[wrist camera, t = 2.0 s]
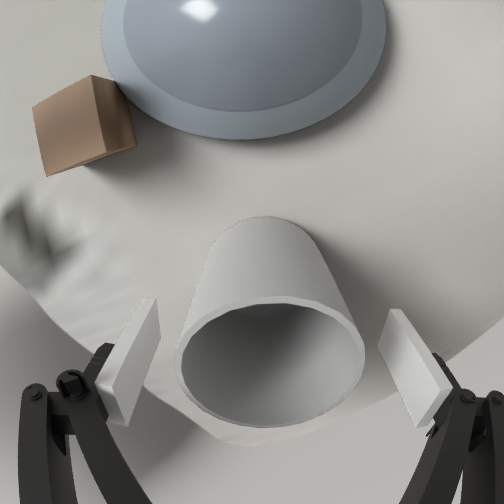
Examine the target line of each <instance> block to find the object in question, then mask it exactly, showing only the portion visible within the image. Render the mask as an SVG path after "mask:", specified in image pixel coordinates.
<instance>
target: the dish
mask: <svg viewBox="0 0 504 504" xmlns="http://www.w3.org/2000/svg"><path fill="white" fill-rule="evenodd" d="M385 40H386V16H385V9H384V5H383V1H382V0H106V3H105V7H104V11H103V15H102V22H101V46H102V50H103V55H104V59H105V62H106V64H107V67H108V69H109V72H110V74H111V76H112V77H113V79H114V81H115V82H116V84H117V86H118V87H119V88H120V89H121V91H122V92H123V93H124V94H125V95H126V97H127V98H128V99H129V100H130V101H132V102H133V103H134V104H135V105H136V106H137V107H138V108H140V109H141V110H142V111H144V112H145V113H147V114H148V115H150V116H151V117H153V118H154V119H156V120H158V121H160V122H162V123H164V124H166V125H168V126H170V127H173V128H176V129H179V130H182V131H185V132H188V133H191V134H195V135H200V136H205V137H209V138H220V139H229V140H236V139H258V138H267V137H273V136H278V135H282V134H286V133H291V132H294V131H297V130H300V129H302V128H305V127H308V126H311V125H313V124H315V123H317V122H319V121H321V120H323V119H325V118H327V117H329V116H330V115H332V114H333V113H335V112H336V111H338V110H339V109H341V108H342V107H344V106H345V105H346V104H347V103H348V102H350V101H351V100H352V99H353V98H354V97H355V96H356V95H357V94H358V93H359V92H360V91H361V90H362V89H363V87H364V86H365V85H366V84H367V83H368V81H369V80H370V78H371V76H372V75H373V73H374V72H375V70H376V68H377V66H378V63H379V61H380V58H381V56H382V53H383V49H384V44H385Z"/></svg>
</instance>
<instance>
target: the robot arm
mask: <svg viewBox="0 0 504 504" xmlns="http://www.w3.org/2000/svg"><path fill="white" fill-rule="evenodd" d="M160 339H161V335H160V327H159V319H158V310H157V301H156V298H151V297H143V298H142V299H141V301H140V303H139V304H138V306H137V308H136V309H135V311H134V313H133V314H132V316H131V318H130V320H129V321H128V323H127V325H126V326H125V328H124V330H123V332H122V333H121V335H120V337H119V339H118V340H117V342H116V344H110V343H104V344H103V345H102V346H100V347H99V348H98V349H97V351H96V352H95V354H94V357H92V359H91V361H90V363H89V364H88V366H87V367H86V369H85V371H84V373H82V372H80V371H78V370H67V371H65V372H62V373H61V374H60V375H59V376H58V378H57V380H56V386H57V388H58V389H59V392H48V391H47V389H46V388H45V386H43V385H41V384H37V383H35V384H31V385H29V386H28V387H26V388H25V389H24V391H23V393H22V400H21V409H20V421H19V439H18V440H19V441H18V478H19V479H18V480H19V496H20V504H78V502H77V497H76V491H75V486H74V479H73V473H72V466H71V457H70V448H69V435H76V437H77V440H78V443H79V445H80V448H81V450H82V453H83V454H84V457H85V460H86V462H87V464H88V466H89V468H90V471H91V473H92V475H93V477H94V479H95V481H96V483H97V485H98V487H99V489H100V491H101V493H102V495H103V496H104V499H105V500H106V502H107V504H152V503H151V501H150V500H149V498H148V497H147V495H146V494H145V492H144V491H143V489H142V487H141V486H140V484H139V483H138V481H137V480H136V478H135V476H134V475H133V473H132V471H131V470H130V468H129V466H128V465H127V463H126V461H125V459H124V458H123V456H122V454H121V452H120V450H119V448H118V447H117V445H116V443H115V441H114V439H113V437H112V435H111V433H110V431H109V429H108V427H107V425H106V421H107V418H108V416H109V418H110V421H111V423H113V424H117V425H121V426H126V427H127V426H128V424H129V420H130V418H131V415H132V412H133V409H134V407H135V404H136V401H137V399H138V396H139V393H140V390H141V388H142V385H143V382H144V380H145V377H146V375H147V372H148V369H149V367H150V364H151V362H152V359H153V356H154V354H155V351H156V349H157V346H158V344H159V341H160ZM377 347H378V349H379V351H380V353H381V355H382V357H383V359H384V361H385V363H386V365H387V368H388V370H389V372H390V374H391V376H392V378H393V380H394V382H395V384H396V386H397V389H398V391H399V393H400V395H401V397H402V399H403V401H404V404H405V406H406V408H407V410H408V413H409V415H410V417H411V420H412V422H413V424H414V426H415V428H417V427H422V426H426V425H428V423H429V422H430V421H431V420H432V418H433V419H434V421H435V424H434V425H433V427H432V428H431V429H430V431H429V432H428V433H427V435H426V436H428V435H429V434H430V435H429V438H428V441H427V443H426V446H425V449H424V451H423V453H422V456H421V458H420V461H419V463H418V465H417V468H416V470H415V472H414V474H413V476H412V479H411V481H410V483H409V485H408V487H407V489H406V491H405V493H404V495H403V497H402V499H401V501H400V503H399V504H451V503H452V500H453V498H454V495H455V492H456V489H457V486H458V483H459V480H460V477H461V473H462V470H463V479H462V492H461V503H460V504H504V395H503V394H502V393H501V392H499V391H491V392H490V393H489V394H488V395H487V397H486V398H481V397H480V398H479V397H476V396H475V394H474V393H473V392H472V391H470V390H468V389H462V388H461V387H460V385H459V384H458V382H457V381H456V379H455V377H454V376H453V374H452V373H451V372H450V370H449V368H448V367H447V366H446V364H445V362H444V361H443V359H442V358H441V357H440V356H438V355H437V354H436V353H431V352H430V351H429V349H428V348H427V346H426V345H425V343H424V342H423V340H422V339H421V337H420V336H419V334H418V333H417V331H416V330H415V329H414V327H413V326H412V324H411V323H410V321H409V320H408V319H407V317H406V316H405V314H404V313H403V312H402V310H401V309H390V310H389V313H388V316H387V319H386V322H385V325H384V328H383V331H382V333H381V336H380V339H379V342H378V344H377Z"/></svg>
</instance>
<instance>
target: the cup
mask: <svg viewBox="0 0 504 504" xmlns="http://www.w3.org/2000/svg"><path fill="white" fill-rule="evenodd" d="M364 364H365V348H364V342H363V340H362V338H361V336H360V333H359V331H358V329H357V327H356V325H355V322H354V320H353V318H352V316H351V314H350V312H349V310H348V307H347V305H346V303H345V301H344V299H343V297H342V295H341V293H340V291H339V289H338V287H337V284H336V282H335V280H334V278H333V276H332V274H331V272H330V270H329V268H328V266H327V264H326V262H325V260H324V258H323V256H322V254H321V253H320V251H319V249H318V247H317V246H316V244H315V242H314V241H313V239H312V238H311V237H310V236H309V235H308V234H307V233H306V232H305V231H304V230H303V229H302V228H300V227H298V226H296V225H294V224H293V223H291V222H289V221H287V220H282V219H278V218H274V217H254V218H251V219H247V220H244V221H241V222H238V223H236V224H235V225H233V226H232V227H230V228H228V229H227V230H225V231H224V232H223V233H222V234H221V235H220V236H219V237H218V239H217V240H216V241H215V242H214V244H213V246H212V248H211V250H210V252H209V254H208V256H207V258H206V260H205V263H204V266H203V269H202V271H201V274H200V277H199V280H198V283H197V286H196V289H195V292H194V295H193V298H192V301H191V304H190V307H189V310H188V313H187V316H186V320H185V323H184V326H183V329H182V332H181V335H180V338H179V342H178V345H177V348H176V353H175V363H174V370H175V373H176V377H177V380H178V383H179V385H180V387H181V388H182V390H183V391H184V393H185V394H186V396H187V397H188V398H189V399H190V400H191V401H192V402H193V403H194V404H196V405H197V406H198V407H199V408H200V409H202V410H203V411H205V412H206V413H208V414H210V415H212V416H214V417H216V418H218V419H220V420H223V421H226V422H230V423H233V424H236V425H241V426H248V427H256V428H271V427H284V426H289V425H294V424H299V423H302V422H305V421H308V420H310V419H313V418H316V417H318V416H320V415H322V414H324V413H326V412H327V411H329V410H331V409H332V408H334V407H335V406H337V405H338V404H339V403H340V402H341V401H343V400H344V399H345V398H346V397H347V396H348V395H349V394H350V393H351V392H352V390H353V389H354V387H355V386H356V384H357V383H358V381H359V380H360V378H361V375H362V372H363V368H364Z"/></svg>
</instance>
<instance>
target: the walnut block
mask: <svg viewBox="0 0 504 504" xmlns="http://www.w3.org/2000/svg"><path fill="white" fill-rule="evenodd" d="M32 110H33V116H34V122H35V128H36V133H37V138H38V143H39V148H40V153H41V157H42V161H43V166H44V170H45V174H46V177H48V176H51V175H53V174H57V173H60V172H63V171H66V170H69V169H72V168H75V167H79V166H82V165H85V164H87V163H90V162H92V161H95V160H98V159H100V158H103V157H106V156H108V155H111V154H114V153H117V152H120V151H123V150H125V149H128V148H131V147H134V146H136V142H135V137H134V133H133V129H132V124H131V120H130V115H129V110H128V105H127V100H126V95H125V94H124V93H123V92H122V91H121V89H120V88H119V87H118V86H117V84H116V82H115V81H112V80H108V79H104V78H101V77H97V76H93V75H90V76H88V77H86V78H84V79H82V80H80V81H78V82H76V83H74V84H72V85H70V86H68V87H66V88H65V89H63V90H61V91H59V92H57V93H56V94H54V95H52V96H50V97H49V98H47V99H45V100H44V101H42V102H40V103H39V104H37V105H35V106H34V107H32Z"/></svg>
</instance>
